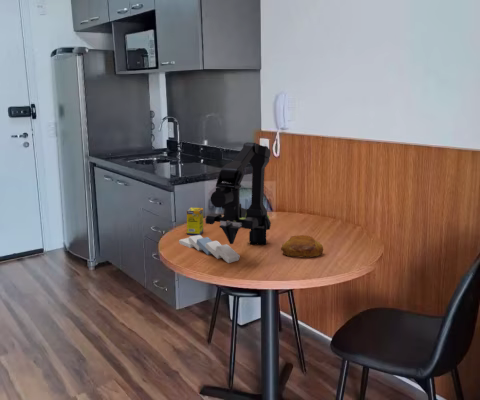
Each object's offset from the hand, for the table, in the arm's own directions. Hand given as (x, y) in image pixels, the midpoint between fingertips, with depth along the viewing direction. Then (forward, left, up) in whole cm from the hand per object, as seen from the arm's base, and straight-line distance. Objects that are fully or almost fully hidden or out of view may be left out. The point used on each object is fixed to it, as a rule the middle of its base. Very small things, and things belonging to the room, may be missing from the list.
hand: (231, 243), depth 176 cm
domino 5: (-1, +1, -6) cm, 6 cm away
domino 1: (+16, -16, -6) cm, 23 cm away
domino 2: (+12, -12, -6) cm, 18 cm away
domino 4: (+3, -3, -6) cm, 7 cm away
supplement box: (+19, -35, -7) cm, 40 cm away
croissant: (-26, -11, -7) cm, 29 cm away
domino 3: (+8, -8, -6) cm, 12 cm away
